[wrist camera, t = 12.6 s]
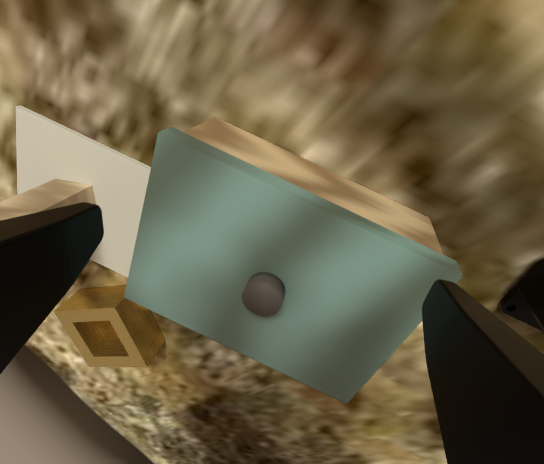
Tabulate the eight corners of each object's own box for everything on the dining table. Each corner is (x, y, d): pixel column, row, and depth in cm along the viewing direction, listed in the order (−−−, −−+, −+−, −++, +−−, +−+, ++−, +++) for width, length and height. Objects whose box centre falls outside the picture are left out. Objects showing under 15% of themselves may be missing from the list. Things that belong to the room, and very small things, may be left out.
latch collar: (137, 284, 29) (114, 307, 26) (165, 340, 31) (147, 366, 29) (80, 289, 31) (53, 311, 28) (110, 341, 33) (89, 366, 31)
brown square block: (92, 185, 24) (-44, 253, 16) (99, 222, 26) (-23, 302, 18) (55, 178, 25) (-94, 242, 17) (64, 215, 26) (-69, 290, 18)
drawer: (436, 215, 20) (468, 289, 14) (350, 330, 26) (345, 419, 19) (212, 109, 20) (145, 137, 14) (173, 245, 26) (113, 308, 20)
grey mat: (154, 168, 23) (151, 170, 23) (131, 275, 28) (128, 277, 28) (20, 105, 23) (15, 106, 23) (22, 222, 28) (18, 224, 28)
